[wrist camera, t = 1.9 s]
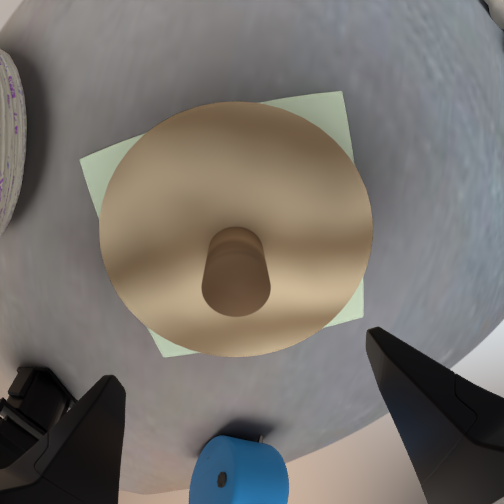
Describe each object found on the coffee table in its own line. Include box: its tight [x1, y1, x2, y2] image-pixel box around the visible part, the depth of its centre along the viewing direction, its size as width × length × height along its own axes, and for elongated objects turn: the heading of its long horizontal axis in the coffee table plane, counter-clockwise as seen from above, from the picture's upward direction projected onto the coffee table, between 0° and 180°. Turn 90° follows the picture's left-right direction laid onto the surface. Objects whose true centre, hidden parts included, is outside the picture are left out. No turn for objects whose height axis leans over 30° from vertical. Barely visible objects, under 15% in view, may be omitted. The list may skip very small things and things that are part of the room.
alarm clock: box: [189, 435, 289, 504], centre depth 22 cm, size 13×6×15 cm, turn 151°
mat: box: [80, 91, 363, 357], centre depth 18 cm, size 16×16×1 cm
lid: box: [99, 101, 373, 357], centre depth 16 cm, size 17×17×5 cm
